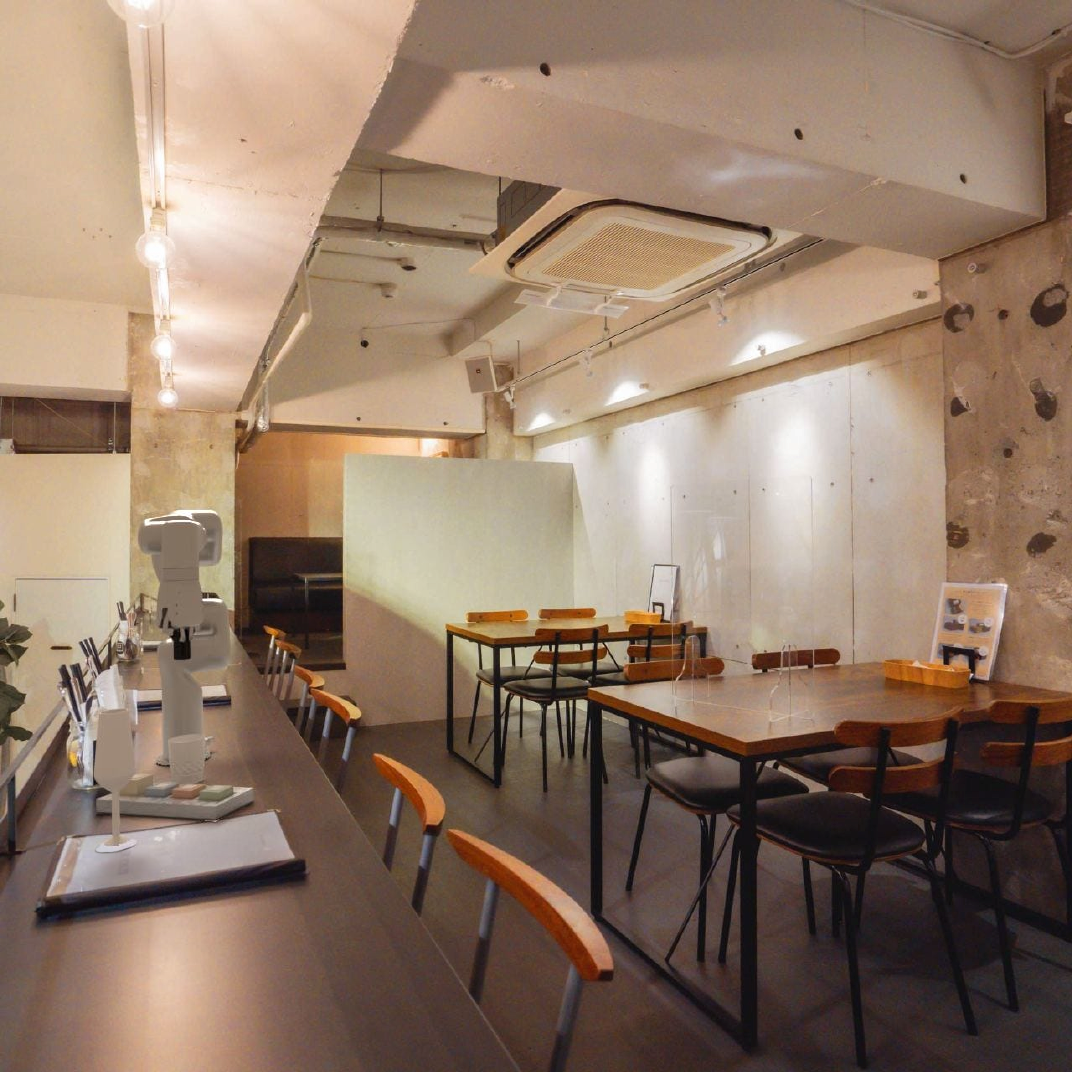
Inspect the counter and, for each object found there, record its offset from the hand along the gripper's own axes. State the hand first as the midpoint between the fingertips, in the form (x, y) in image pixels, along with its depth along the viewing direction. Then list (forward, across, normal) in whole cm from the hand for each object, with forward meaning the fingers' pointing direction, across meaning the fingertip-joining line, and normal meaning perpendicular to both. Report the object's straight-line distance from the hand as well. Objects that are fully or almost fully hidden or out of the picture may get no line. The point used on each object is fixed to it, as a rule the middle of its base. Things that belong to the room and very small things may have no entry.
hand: (182, 659), depth 171 cm
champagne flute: (+29, +30, +10) cm, 43 cm away
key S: (+27, +10, -4) cm, 29 cm away
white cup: (+29, -7, -5) cm, 31 cm away
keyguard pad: (+29, +10, +6) cm, 31 cm away
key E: (+28, +10, +16) cm, 34 cm away
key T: (+28, +10, +3) cm, 30 cm away
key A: (+28, +10, +9) cm, 31 cm away
